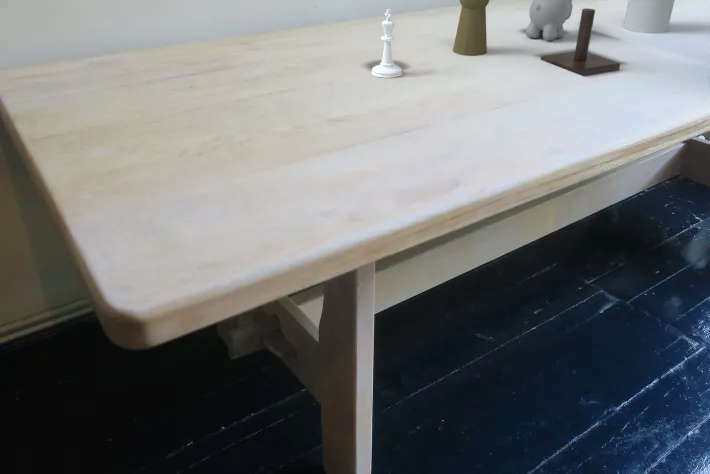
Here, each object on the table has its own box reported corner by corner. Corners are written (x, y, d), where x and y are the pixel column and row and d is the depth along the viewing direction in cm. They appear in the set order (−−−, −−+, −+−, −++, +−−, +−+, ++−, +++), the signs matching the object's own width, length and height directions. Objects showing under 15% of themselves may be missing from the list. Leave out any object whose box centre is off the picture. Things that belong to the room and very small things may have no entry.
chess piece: (379, 79, 104) (381, 13, 99) (366, 71, 108) (367, 7, 103) (407, 75, 106) (410, 11, 101) (393, 67, 110) (395, 5, 105)
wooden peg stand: (619, 70, 109) (630, 12, 104) (576, 77, 106) (586, 17, 101) (581, 57, 116) (590, 2, 111) (539, 63, 113) (548, 6, 108)
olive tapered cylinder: (466, 45, 123) (472, -18, 117) (493, 51, 119) (500, -14, 114) (446, 50, 119) (450, -14, 114) (473, 57, 116) (479, -9, 110)
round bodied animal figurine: (583, 33, 131) (591, -12, 127) (551, 44, 124) (559, -4, 119) (551, 27, 135) (557, -17, 131) (518, 37, 128) (524, -9, 124)
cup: (669, 33, 131) (685, -32, 125) (661, 41, 125) (677, -26, 119) (627, 27, 135) (640, -36, 129) (617, 36, 129) (630, -30, 123)
